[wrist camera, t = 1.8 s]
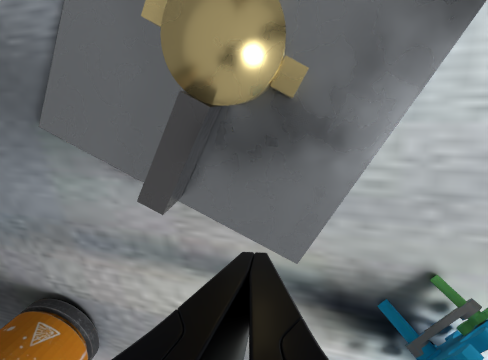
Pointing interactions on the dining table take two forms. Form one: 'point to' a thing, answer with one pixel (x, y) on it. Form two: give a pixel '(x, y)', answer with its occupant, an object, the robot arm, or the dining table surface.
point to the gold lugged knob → (212, 77)
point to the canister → (49, 333)
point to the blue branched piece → (457, 344)
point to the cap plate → (255, 106)
